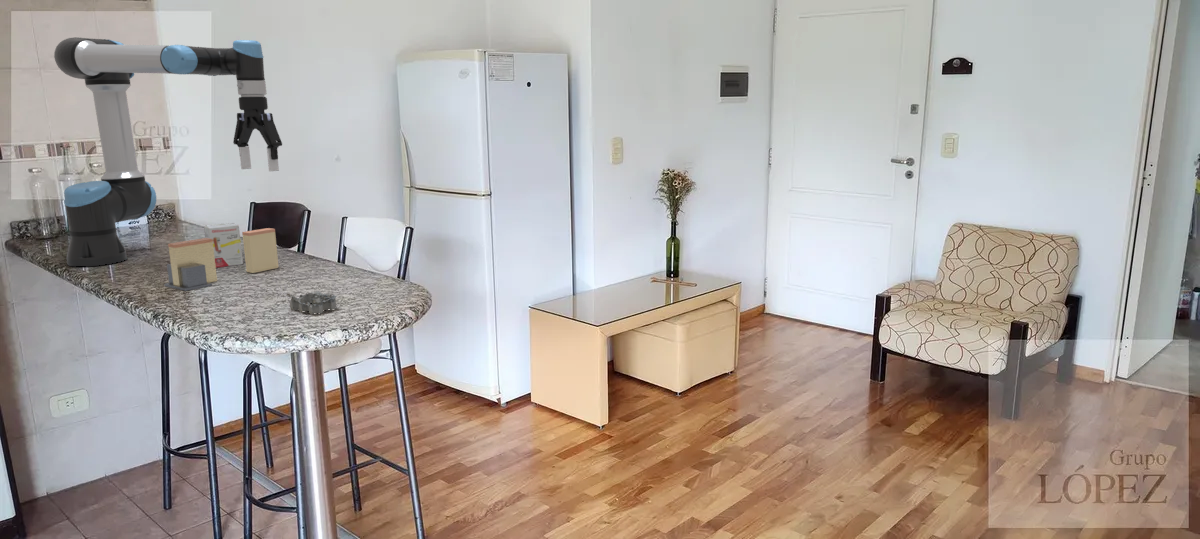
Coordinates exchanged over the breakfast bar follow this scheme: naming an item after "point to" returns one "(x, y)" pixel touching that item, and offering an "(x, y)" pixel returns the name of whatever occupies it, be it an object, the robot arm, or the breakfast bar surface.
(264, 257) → the stub
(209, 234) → the ink box
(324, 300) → the grey flat lobed block
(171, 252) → the ticket holder
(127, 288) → the breakfast bar surface
